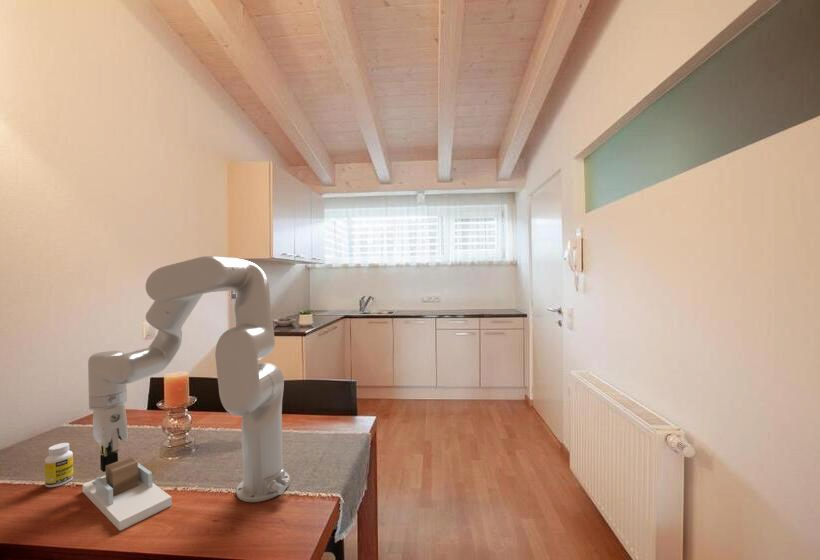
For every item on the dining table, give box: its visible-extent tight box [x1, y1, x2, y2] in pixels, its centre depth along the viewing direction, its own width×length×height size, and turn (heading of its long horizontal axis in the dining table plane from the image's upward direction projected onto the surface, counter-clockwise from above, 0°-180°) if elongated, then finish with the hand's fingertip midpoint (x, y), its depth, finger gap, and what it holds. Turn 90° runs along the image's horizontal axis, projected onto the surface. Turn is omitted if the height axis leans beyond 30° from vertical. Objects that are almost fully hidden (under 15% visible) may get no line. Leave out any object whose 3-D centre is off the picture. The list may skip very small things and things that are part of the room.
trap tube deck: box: [82, 462, 173, 531], centre depth 87 cm, size 26×10×6 cm, turn 56°
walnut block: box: [105, 456, 139, 496], centre depth 88 cm, size 5×5×6 cm
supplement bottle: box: [44, 442, 74, 488], centre depth 95 cm, size 5×5×10 cm
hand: (109, 468), depth 92 cm, fingers closed
